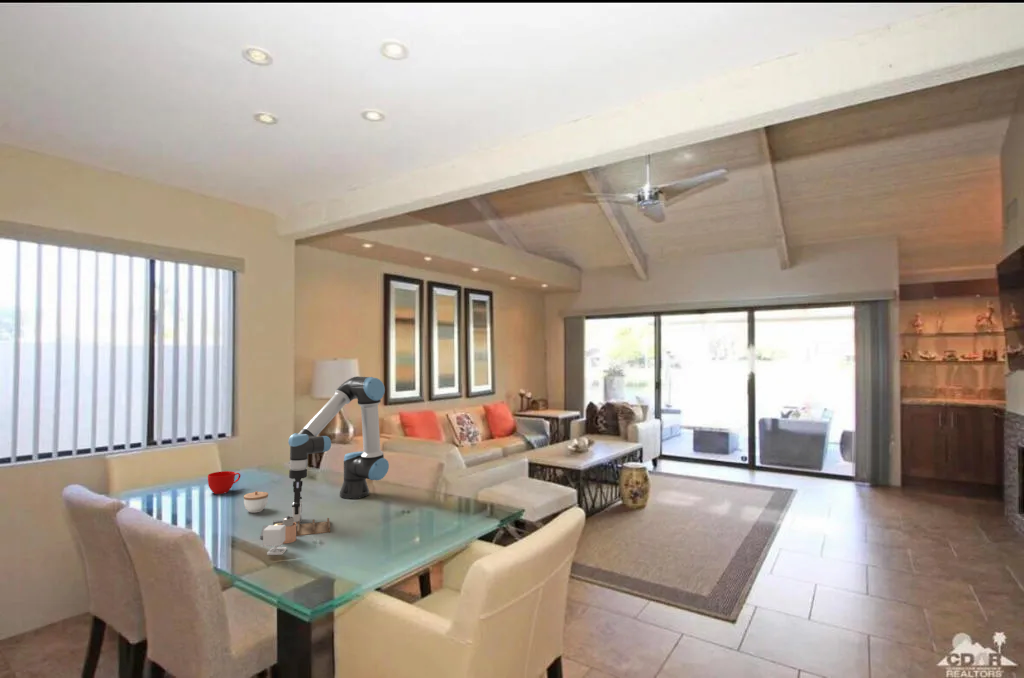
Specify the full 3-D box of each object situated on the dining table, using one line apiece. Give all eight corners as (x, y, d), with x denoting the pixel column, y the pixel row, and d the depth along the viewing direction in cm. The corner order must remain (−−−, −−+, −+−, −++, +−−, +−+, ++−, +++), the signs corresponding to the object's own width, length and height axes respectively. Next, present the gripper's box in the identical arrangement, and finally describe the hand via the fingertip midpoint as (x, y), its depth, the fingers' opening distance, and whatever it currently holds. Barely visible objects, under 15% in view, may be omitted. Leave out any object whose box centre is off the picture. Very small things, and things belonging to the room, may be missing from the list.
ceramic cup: (246, 490, 288) (246, 472, 288) (215, 497, 274) (215, 478, 274) (233, 486, 295) (233, 468, 295) (202, 493, 280) (202, 474, 281)
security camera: (268, 550, 203) (269, 524, 203) (287, 550, 204) (287, 524, 204) (262, 556, 197) (263, 530, 197) (281, 556, 197) (282, 529, 198)
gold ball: (283, 529, 224) (283, 522, 224) (282, 532, 221) (283, 525, 221) (274, 530, 223) (274, 523, 223) (273, 533, 219) (273, 526, 220)
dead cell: (293, 538, 215) (293, 514, 215) (292, 541, 211) (293, 517, 212) (282, 539, 214) (283, 515, 214) (281, 542, 210) (282, 518, 210)
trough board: (328, 523, 236) (329, 517, 236) (330, 533, 223) (330, 527, 223) (297, 526, 231) (297, 521, 231) (296, 536, 218) (296, 531, 218)
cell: (301, 520, 239) (302, 499, 239) (301, 523, 235) (302, 501, 235) (292, 521, 238) (292, 500, 238) (291, 523, 234) (292, 502, 234)
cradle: (295, 525, 232) (295, 518, 232) (294, 536, 218) (294, 529, 218) (263, 528, 228) (263, 521, 228) (260, 540, 213) (260, 533, 213)
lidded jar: (257, 515, 246) (258, 495, 246) (238, 513, 248) (238, 493, 248) (272, 508, 256) (273, 489, 256) (253, 506, 258) (254, 487, 258)
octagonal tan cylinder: (296, 538, 217) (296, 521, 217) (295, 543, 211) (296, 526, 211) (279, 539, 214) (279, 522, 214) (278, 545, 208) (278, 527, 208)
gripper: (290, 464, 246) (288, 511, 245) (288, 474, 224) (286, 525, 223) (307, 463, 249) (305, 510, 248) (307, 473, 227) (305, 524, 226)
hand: (296, 517), depth 235 cm, fingers open, 11 cm apart
